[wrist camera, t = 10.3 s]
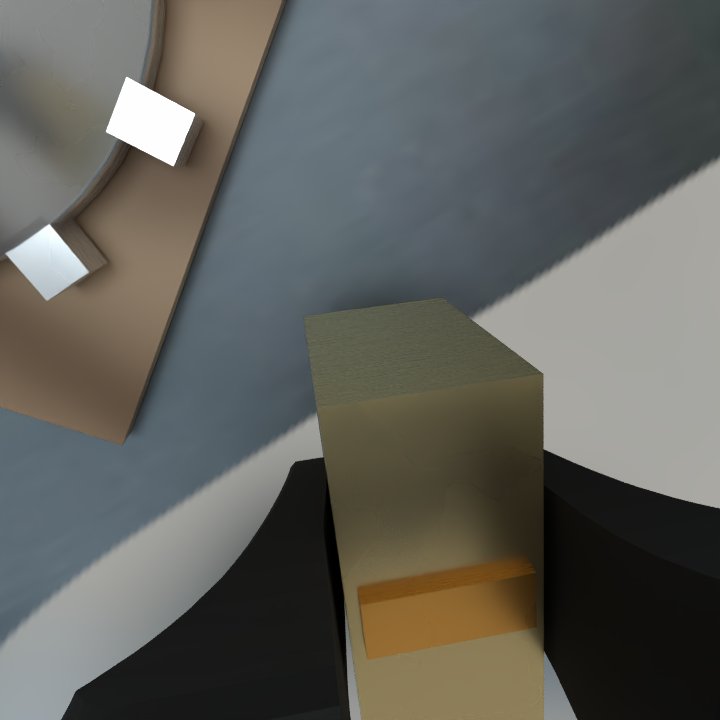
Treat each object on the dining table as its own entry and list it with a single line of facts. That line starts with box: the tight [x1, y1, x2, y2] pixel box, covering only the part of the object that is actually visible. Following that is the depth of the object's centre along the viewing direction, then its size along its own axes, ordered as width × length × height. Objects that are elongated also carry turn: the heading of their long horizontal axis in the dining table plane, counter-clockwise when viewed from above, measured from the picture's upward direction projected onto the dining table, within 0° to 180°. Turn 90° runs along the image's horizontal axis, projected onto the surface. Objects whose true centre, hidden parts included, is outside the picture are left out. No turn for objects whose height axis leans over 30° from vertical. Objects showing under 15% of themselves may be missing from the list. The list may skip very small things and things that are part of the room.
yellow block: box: [303, 298, 544, 720], centre depth 11 cm, size 7×3×5 cm, turn 6°
